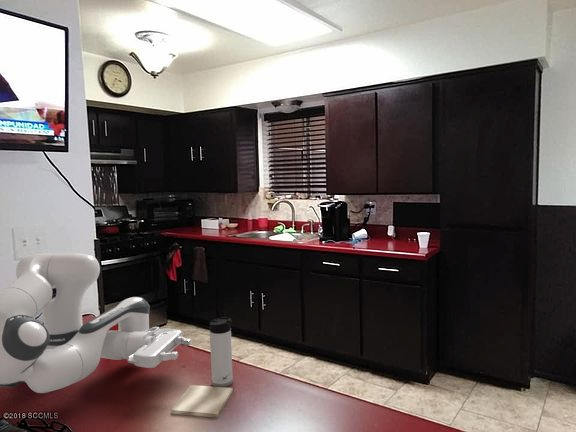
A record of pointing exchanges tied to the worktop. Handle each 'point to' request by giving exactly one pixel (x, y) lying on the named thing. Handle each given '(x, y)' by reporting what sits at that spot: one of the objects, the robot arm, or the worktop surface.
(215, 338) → the travel mug
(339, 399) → the worktop surface
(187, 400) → the coaster board
